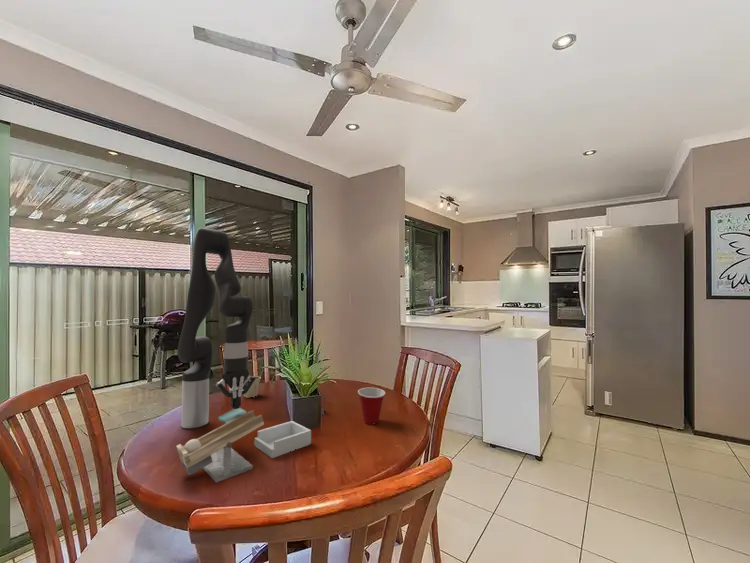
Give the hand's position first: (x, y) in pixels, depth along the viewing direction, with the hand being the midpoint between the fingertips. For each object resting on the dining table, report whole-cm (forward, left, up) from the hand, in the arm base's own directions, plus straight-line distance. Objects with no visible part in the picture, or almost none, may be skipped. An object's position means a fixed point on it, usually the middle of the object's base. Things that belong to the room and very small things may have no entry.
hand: (235, 408), depth 112 cm
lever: (+5, -7, -7) cm, 11 cm away
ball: (+11, -16, -4) cm, 20 cm away
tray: (+11, +11, -12) cm, 20 cm away
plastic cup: (+17, +46, -12) cm, 51 cm away
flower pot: (-49, +27, -12) cm, 58 cm away
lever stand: (+11, -8, -12) cm, 18 cm away
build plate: (-7, +38, -13) cm, 41 cm away
